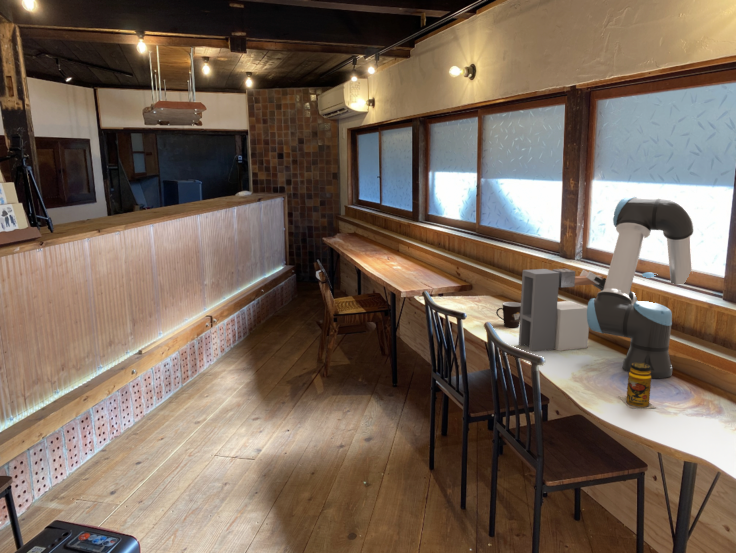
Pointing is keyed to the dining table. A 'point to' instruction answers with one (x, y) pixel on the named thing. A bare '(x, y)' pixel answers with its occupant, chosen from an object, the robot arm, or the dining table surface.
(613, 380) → the dining table surface
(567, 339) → the block
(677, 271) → the robot arm
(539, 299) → the stand
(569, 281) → the grey mallet
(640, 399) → the condiment
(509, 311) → the coffee mug
